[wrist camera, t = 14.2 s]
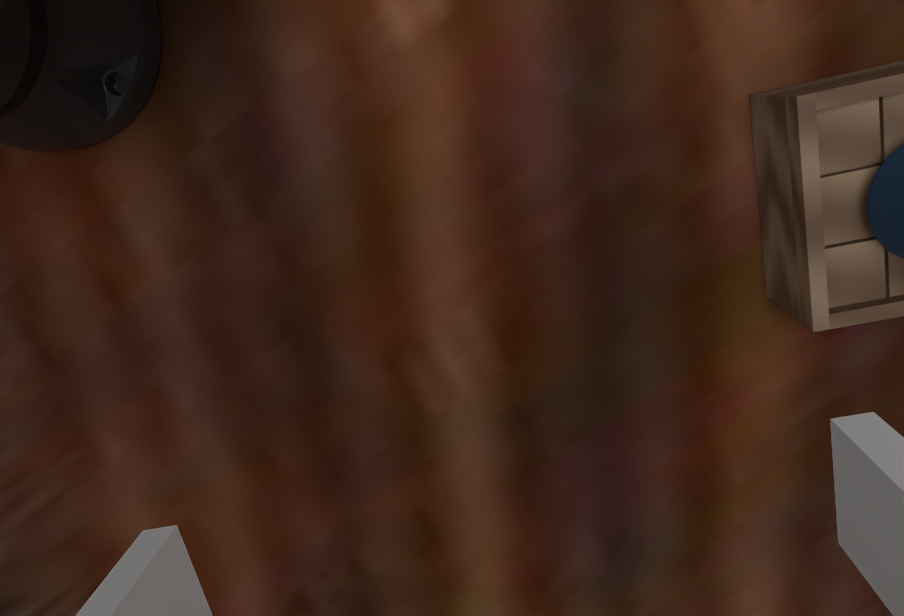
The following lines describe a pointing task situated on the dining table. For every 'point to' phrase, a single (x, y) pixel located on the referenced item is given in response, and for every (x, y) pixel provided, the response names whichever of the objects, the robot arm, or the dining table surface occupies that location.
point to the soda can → (888, 203)
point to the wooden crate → (828, 195)
